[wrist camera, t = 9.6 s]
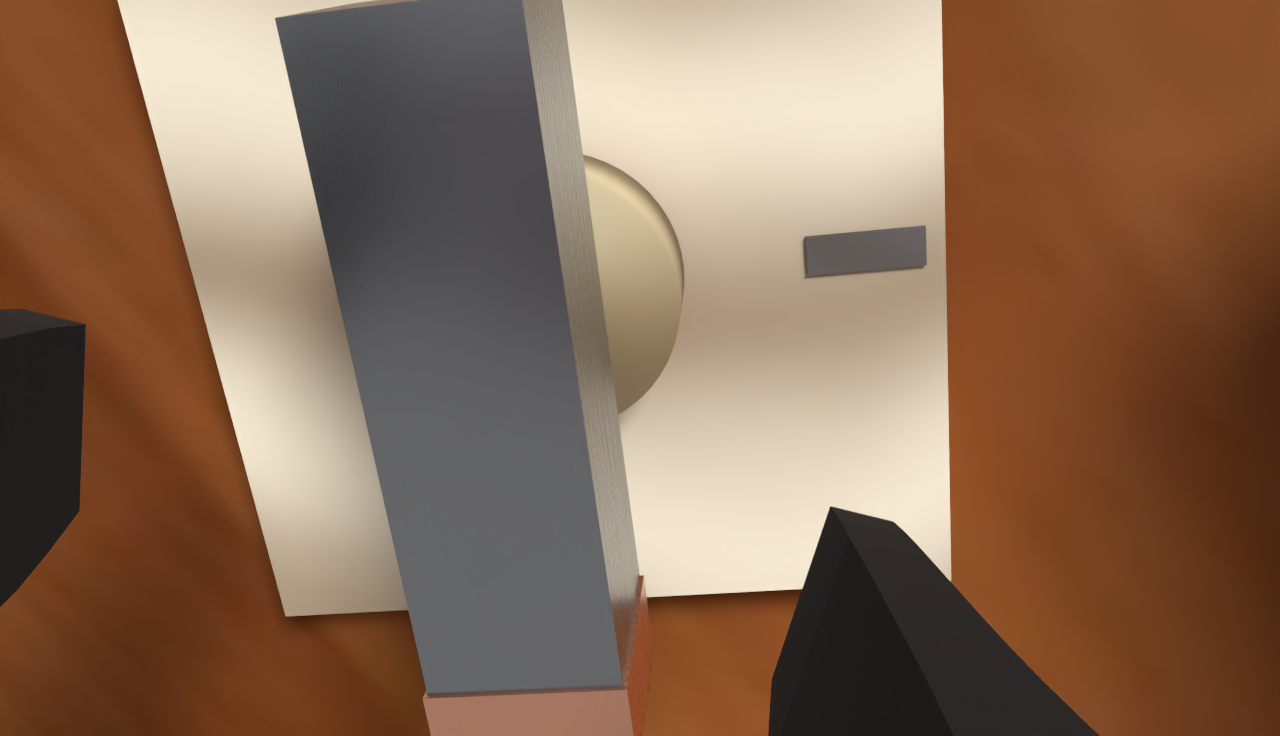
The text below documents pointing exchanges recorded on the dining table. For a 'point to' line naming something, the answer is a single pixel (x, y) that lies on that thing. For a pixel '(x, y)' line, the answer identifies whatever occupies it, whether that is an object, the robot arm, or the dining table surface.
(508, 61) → the dark rectangular block
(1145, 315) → the dining table surface
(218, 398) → the dining table surface
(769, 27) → the base plate
